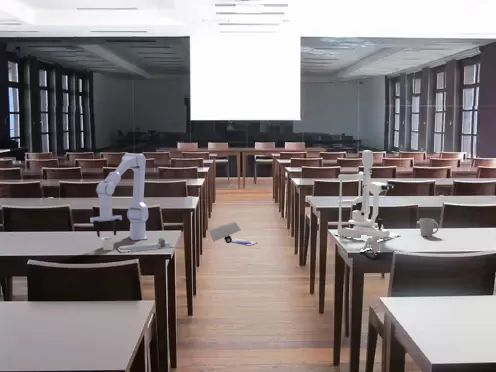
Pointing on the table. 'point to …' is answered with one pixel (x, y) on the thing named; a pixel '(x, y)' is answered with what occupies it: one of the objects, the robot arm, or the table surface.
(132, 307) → the table surface
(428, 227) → the cup
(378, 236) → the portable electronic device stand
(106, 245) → the block
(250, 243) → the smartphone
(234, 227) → the grey tilted panel
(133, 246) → the rail
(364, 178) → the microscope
